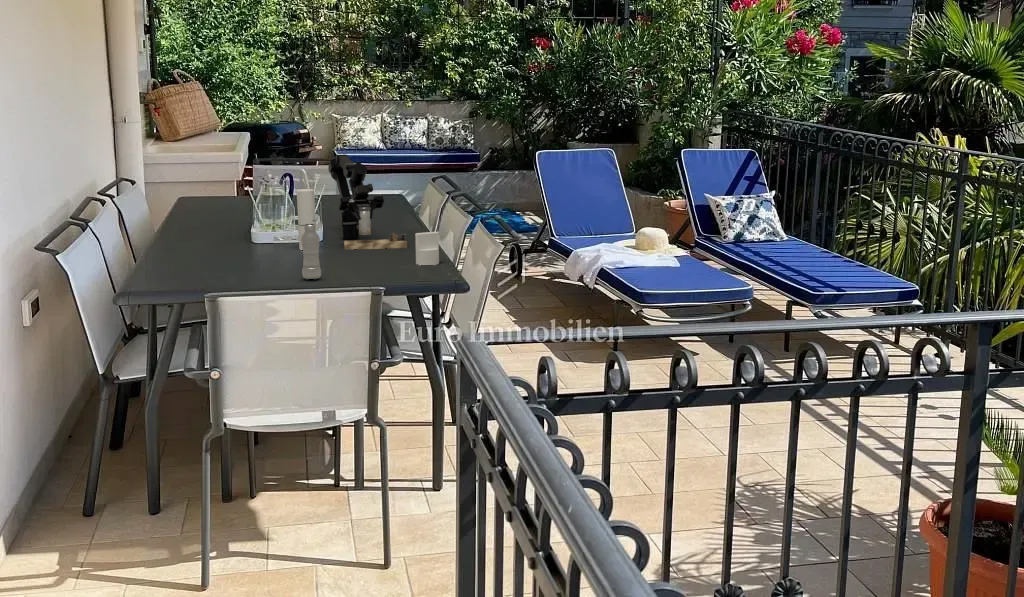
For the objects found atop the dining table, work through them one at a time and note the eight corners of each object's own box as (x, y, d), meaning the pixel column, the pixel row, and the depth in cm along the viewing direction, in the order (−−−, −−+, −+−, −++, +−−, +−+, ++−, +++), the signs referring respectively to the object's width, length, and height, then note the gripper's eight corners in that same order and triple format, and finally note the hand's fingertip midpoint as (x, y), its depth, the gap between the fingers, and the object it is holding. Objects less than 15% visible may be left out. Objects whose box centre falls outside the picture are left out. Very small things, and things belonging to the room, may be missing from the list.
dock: (344, 249, 422) (344, 236, 421) (344, 246, 430) (343, 233, 428) (407, 247, 427) (406, 234, 425) (405, 244, 434) (405, 231, 433)
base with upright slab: (421, 266, 388) (420, 235, 385) (412, 262, 396) (411, 232, 393) (442, 264, 392) (442, 233, 389) (433, 260, 400) (433, 230, 397)
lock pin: (389, 241, 427) (389, 235, 427) (389, 240, 430) (389, 234, 429) (406, 240, 429) (406, 234, 428) (406, 239, 431) (405, 233, 431)
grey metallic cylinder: (358, 235, 421) (357, 208, 419) (358, 233, 426) (357, 205, 424) (371, 235, 422) (371, 207, 420) (371, 232, 427) (370, 205, 425)
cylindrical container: (320, 249, 424) (317, 189, 418) (310, 252, 417) (307, 191, 412) (306, 247, 427) (303, 188, 421) (295, 250, 420) (293, 190, 415)
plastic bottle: (303, 277, 368) (300, 223, 363) (322, 277, 368) (320, 223, 364) (301, 281, 362) (298, 226, 357) (320, 281, 362) (318, 225, 357)
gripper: (338, 178, 419) (346, 208, 412) (382, 176, 426) (390, 206, 419) (334, 194, 428) (342, 224, 420) (377, 192, 435) (385, 221, 428)
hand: (365, 219), depth 422 cm, fingers closed on grey metallic cylinder, 5 cm apart
